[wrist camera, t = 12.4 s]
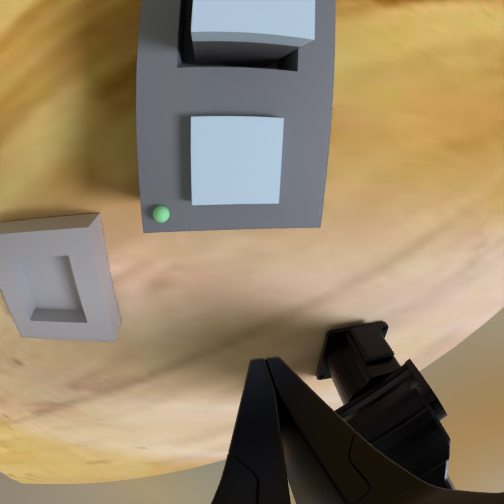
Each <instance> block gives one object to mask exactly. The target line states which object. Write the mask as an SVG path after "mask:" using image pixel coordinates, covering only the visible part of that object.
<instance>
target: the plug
mask: <svg viewBox="0 0 504 504" xmlns="http://www.w3.org/2000/svg"><path fill="white" fill-rule="evenodd" d="M191 35H192V42H193V49H194V56H195V63H196V65H246V66H264V67H267V66H268V65H270V64H272V63H273V62H275V61H277V60H279V59H280V58H282V57H284V56H286V55H287V54H289V53H291V52H293V51H295V50H296V49H298V48H300V47H302V46H304V45H306V44H308V43H310V42H311V41H313V40H315V0H193V8H192V23H191Z"/></svg>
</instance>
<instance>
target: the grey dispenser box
mask: <svg viewBox="0 0 504 504" xmlns="http://www.w3.org/2000/svg"><path fill="white" fill-rule="evenodd" d="M192 8H193V0H141V10H140V20H139V33H138V49H137V73H136V133H137V159H138V176H139V190H140V203H141V214H142V223H143V233H153V232H177V231H203V230H233V229H271V228H320V227H321V219H322V211H323V202H324V193H325V184H326V175H327V165H328V154H329V142H330V130H331V116H332V101H333V83H334V59H335V0H315V40H313V41H311V42H310V43H308V44H306V45H304V46H302V47H300V48H298V49H296V50H295V51H293V52H291V53H289V54H287V55H286V56H284V57H282V58H280V59H279V60H277V61H275V62H273V63H272V64H270V65H268V66H267V67H264V66H246V65H196V63H195V56H194V49H193V42H192V35H191V23H192Z"/></svg>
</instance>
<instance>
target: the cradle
mask: <svg viewBox="0 0 504 504" xmlns="http://www.w3.org/2000/svg"><path fill="white" fill-rule="evenodd" d="M0 288H1V291H2V293H3V296H4V298H5V301H6V303H7V306H8V308H9V311H10V313H11V315H12V318H13V320H14V322H15V325H16V327H17V329H18V331H19V333H20V335H21V337H30V338H42V339H56V340H75V341H102V342H116V339H117V336H118V332H119V328H120V325H121V317H120V313H119V309H118V305H117V301H116V296H115V292H114V288H113V283H112V278H111V274H110V269H109V264H108V259H107V253H106V248H105V242H104V236H103V230H102V224H101V217H100V213H94V214H81V215H69V216H58V217H47V218H37V219H27V220H18V221H9V222H1V223H0Z"/></svg>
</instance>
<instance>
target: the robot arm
mask: <svg viewBox="0 0 504 504" xmlns="http://www.w3.org/2000/svg"><path fill="white" fill-rule="evenodd" d="M387 330H388V325H387V323H386V322H382V323H376V324H369V325H363V326H357V327H350V328H343V329H336V330H330V331H329V332H328V333H327V334H326V338H325V342H324V346H323V350H322V354H321V357H320V361H319V365H318V369H317V373H316V377H317V379H318V380H322V379H328V378H332V380H333V382H334V384H335V387H336V389H337V391H338V393H339V396H340V398H341V400H342V402H343V406H342V407H340V408H338V409H337V410H335V411H334V410H333V409H332V408H330V407H329V406H328V405H327V404H326V403H325V402H324V401H323V400H322V399H321V398H320V397H319V396H318V395H317V394H316V393H315V392H314V391H313V390H312V389H311V388H310V387H309V386H308V385H307V384H306V383H305V382H304V381H303V380H302V379H301V378H300V377H299V376H298V375H297V374H296V373H295V372H294V371H293V370H292V369H291V368H290V367H289V366H288V365H287V364H286V363H285V362H284V361H283V360H282V359H281V358H280V357H278V356H276V357H267V358H265V359H264V358H256V359H251V360H250V363H249V367H248V372H247V376H246V380H245V385H244V389H243V393H242V397H241V402H240V406H239V410H238V414H237V419H236V423H235V427H234V431H233V435H232V439H231V443H230V447H229V451H228V453H229V454H228V455H227V459H226V463H225V467H224V470H223V473H222V477H221V480H220V483H219V485H218V488H217V490H216V493H215V496H214V498H213V500H212V502H211V504H291V502H290V495H289V487H288V481H289V484H290V487H291V490H292V493H293V495H294V499H295V502H296V504H504V492H502V493H484V492H471V491H461V490H456V489H455V488H454V486H453V484H452V482H451V480H450V478H449V477H448V475H447V473H448V464H449V454H450V438H449V436H448V434H447V433H446V431H445V429H444V428H443V426H442V424H441V423H440V420H442V419H443V418H444V417H446V416H447V414H446V412H445V410H444V408H443V406H442V405H441V403H440V402H439V400H438V398H437V397H436V395H435V394H434V392H433V391H432V389H431V388H430V386H429V385H428V384H427V382H426V381H425V379H424V378H423V376H422V375H421V373H420V372H419V371H418V369H417V368H416V367H415V365H414V364H413V362H412V361H411V360H410V359H409V360H407V361H406V362H405V364H404V365H402V366H400V364H399V363H398V361H397V360H396V358H395V357H394V352H393V351H392V349H391V348H390V346H389V345H388V343H387V342H386V340H385V339H384V338H385V335H386V333H387ZM287 478H288V479H287Z"/></svg>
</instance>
